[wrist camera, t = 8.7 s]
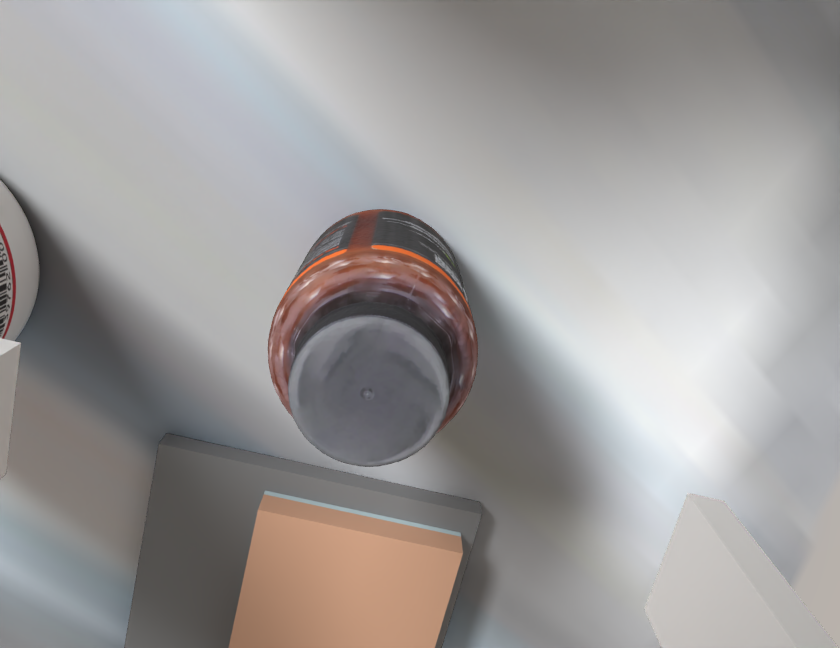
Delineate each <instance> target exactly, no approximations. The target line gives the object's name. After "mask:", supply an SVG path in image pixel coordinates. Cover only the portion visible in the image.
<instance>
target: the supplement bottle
mask: <svg viewBox="0 0 840 648" xmlns="http://www.w3.org/2000/svg"><path fill="white" fill-rule="evenodd" d="M477 357H478V343H477V334H476V329H475V325H474V321H473V317H472V313H471V309H470V306H469V303H468V299H467V296H466V292H465V289H464V286H463V282H462V279H461V276H460V272H459V269H458V266H457V263H456V261H455V258H454V256H453V254H452V252H451V251H450V249H449V247H448V246H447V244H446V243H445V242H444V240H443V239H442V238H441V237H440V235H439V234H438V233H437V232H436V231H435V230H434V229H433V228H431V227H430V226H429V225H427V224H426V223H424V222H423V221H421V220H420V219H418V218H415V217H414V216H411V215H409V214H407V213H403V212H399V211H393V210H383V209H379V210H367V211H362V212H358V213H354V214H352V215H349V216H347V217H345V218H343V219H341V220H340V221H338V222H336V223H335V224H334V225H332V226H331V227H330V228H328V229H327V230H326V231H325V232H324V233H323V234H322V235H321V236H320V237H319V239H318V240H317V241H316V242H315V243H314V245H313V246H312V248H311V249H310V251H309V252H308V254H307V256H306V257H305V259H304V261H303V263H302V265H301V266H300V268H299V270H298V272H297V274H296V275H295V277H294V279H293V280H292V282H291V284H290V286H289V287H288V289H287V291H286V293H285V294H284V296H283V298H282V300H281V302H280V304H279V306H278V307H277V310H276V312H275V315H274V317H273V321H272V325H271V329H270V333H269V339H268V362H269V369H270V373H271V378H272V382H273V385H274V388H275V390H276V392H277V394H278V396H279V398H280V400H281V402H282V404H283V405H284V406H285V408H286V410H287V411H288V413H289V414H291V416H292V417H293V418H294V420H295V422H296V424H297V426H298V428H299V429H300V431H301V432H302V433H303V435H304V436H305V437H306V439H307V440H308V441H309V442H310V443H312V444H313V445H314V446H315V447H316V448H317V449H318V450H320V451H321V452H322V453H324V454H326V455H328V456H329V457H331V458H333V459H335V460H338V461H341V462H343V463H347V464H351V465H357V466H364V467H373V466H382V465H387V464H391V463H394V462H399V461H401V460H403V459H406V458H408V457H409V456H411V455H413V454H415V453H416V452H418V451H419V450H420V449H422V448H423V447H425V446H426V445H427V443H428V442H429V441H430V440H431V439H432V438H433V437H434V435H435V434H436V433H438V432H439V431H440V430H441V429H443V428H444V427H445V426H446V424H447V423H448V422H449V421H450V420H451V419H452V418H453V417H454V416H455V415H456V414H457V412H458V411H459V410H460V408H461V407H462V406H463V404H464V402H465V400H466V398H467V396H468V394H469V392H470V390H471V387H472V384H473V381H474V378H475V375H476V367H477Z"/></svg>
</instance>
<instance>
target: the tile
mask: <svg viewBox="0 0 840 648" xmlns="http://www.w3.org/2000/svg"><path fill="white" fill-rule="evenodd" d="M462 555H463V549H462V540H461V533H460V532H455V531H450V530H446V529H441V528H437V527H432V526H427V525H423V524H418V523H413V522H409V521H404V520H400V519H395V518H390V517H386V516H381V515H376V514H372V513H367V512H362V511H358V510H353V509H349V508H344V507H339V506H335V505H330V504H325V503H321V502H316V501H312V500H307V499H302V498H298V497H293V496H288V495H284V494H279V493H274V492H270V491H265V492H264V495H263V498H262V500H261V503H260V506H259V508H258V512H257V517H256V521H255V526H254V531H253V536H252V540H251V545H250V550H249V554H248V559H247V564H246V568H245V573H244V578H243V583H242V587H241V592H240V597H239V601H238V606H237V611H236V615H235V620H234V625H233V629H232V634H231V639H230V644H229V648H435V645H436V642H437V639H438V635H439V632H440V629H441V625H442V622H443V619H444V615H445V612H446V608H447V605H448V602H449V598H450V595H451V592H452V588H453V585H454V582H455V578H456V575H457V572H458V568H459V565H460V562H461V558H462Z"/></svg>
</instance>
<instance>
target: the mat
mask: <svg viewBox="0 0 840 648" xmlns="http://www.w3.org/2000/svg"><path fill="white" fill-rule="evenodd" d="M265 491H270V492H274V493H279V494H284V495H288V496H293V497H298V498H302V499H307V500H312V501H316V502H321V503H325V504H330V505H335V506H339V507H344V508H349V509H353V510H358V511H362V512H367V513H372V514H376V515H381V516H386V517H390V518H395V519H400V520H404V521H409V522H413V523H418V524H423V525H427V526H432V527H437V528H441V529H446V530H450V531H455V532H460V533H461V540H462V549H463V555H462V558H461V562H460V565H459V568H458V572H457V575H456V578H455V582H454V585H453V588H452V592H451V595H450V598H449V602H448V605H447V608H446V612H445V615H444V619H443V622H442V625H441V629H440V632H439V635H438V639H437V642H436V645H435V648H442V645H443V642H444V638H445V635H446V632H447V628H448V625H449V622H450V619H451V615H452V612H453V609H454V605H455V602H456V599H457V595H458V592H459V589H460V585H461V582H462V579H463V576H464V572H465V569H466V566H467V562H468V559H469V556H470V552H471V549H472V546H473V542H474V539H475V536H476V533H477V529H478V526H479V523H480V519H481V516H482V512H481V505H480V502H478V501H473V500H469V499H464V498H459V497H455V496H450V495H446V494H441V493H437V492H432V491H428V490H423V489H418V488H414V487H409V486H405V485H400V484H396V483H391V482H386V481H382V480H377V479H373V478H368V477H364V476H359V475H355V474H350V473H345V472H341V471H336V470H332V469H327V468H323V467H318V466H314V465H309V464H304V463H300V462H295V461H291V460H286V459H282V458H277V457H273V456H268V455H263V454H259V453H254V452H250V451H245V450H241V449H236V448H231V447H227V446H222V445H218V444H213V443H209V442H204V441H200V440H195V439H190V438H186V437H181V436H177V435H172V434H168V433H166V435H165V436H164V437H163V439H162V440H161V441H160V443H159V445H158V451H157V457H156V463H155V469H154V475H153V481H152V486H151V492H150V498H149V504H148V510H147V516H146V522H145V528H144V534H143V540H142V546H141V551H140V557H139V563H138V569H137V575H136V581H135V587H134V593H133V599H132V605H131V611H130V616H129V622H128V628H127V634H126V640H125V646H124V648H229V644H230V639H231V634H232V629H233V625H234V620H235V615H236V611H237V606H238V601H239V597H240V592H241V587H242V583H243V578H244V573H245V568H246V564H247V559H248V554H249V550H250V545H251V540H252V536H253V531H254V526H255V521H256V517H257V512H258V508H259V506H260V503H261V500H262V498H263V495H264V492H265Z"/></svg>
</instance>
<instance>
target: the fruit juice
mask: <svg viewBox="0 0 840 648" xmlns="http://www.w3.org/2000/svg"><path fill="white" fill-rule="evenodd" d="M38 285H39V259H38V252H37V247H36V242H35V239H34V235H33V232H32V230H31V227H30V224H29V222H28V220H27V218H26V216H25V214H24V212H23V210H22V208H21V207H20V205H19V203H18V202H17V200H16V199H15V197H14V196H13V194H12V193H11V192H10V191H9V189H8V188H7V187H6V186H5V184H4V183H3V182H2V181H1V180H0V338H2V339H6V340H11V341H15V340H16V338H17V337H18V336H19V334H20V333H21V331H22V330H23V328H24V327H25V325H26V323H27V321H28V319H29V317H30V315H31V312H32V310H33V307H34V304H35V301H36V297H37V292H38Z"/></svg>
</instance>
